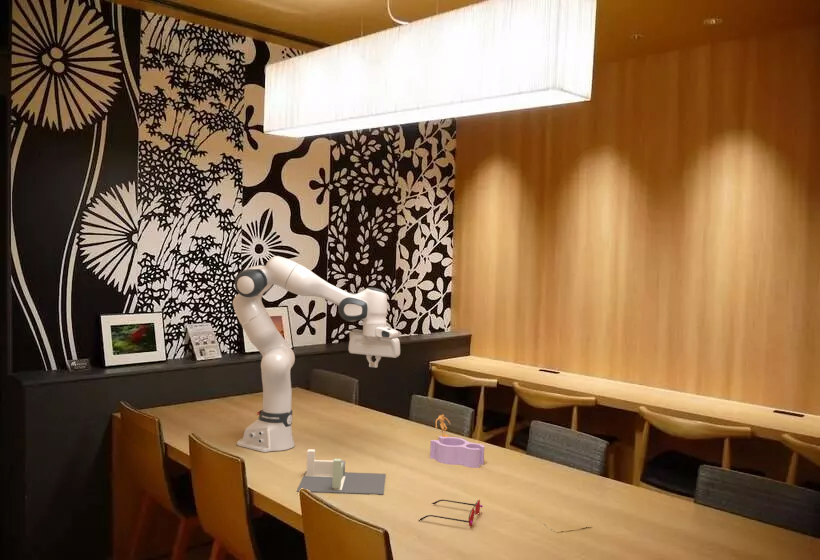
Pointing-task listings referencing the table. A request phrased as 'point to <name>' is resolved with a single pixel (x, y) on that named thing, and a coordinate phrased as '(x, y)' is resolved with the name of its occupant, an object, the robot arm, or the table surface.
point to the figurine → (442, 424)
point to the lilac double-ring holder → (457, 452)
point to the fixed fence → (318, 465)
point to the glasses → (476, 511)
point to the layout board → (345, 483)
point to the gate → (338, 472)
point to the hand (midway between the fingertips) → (373, 367)
